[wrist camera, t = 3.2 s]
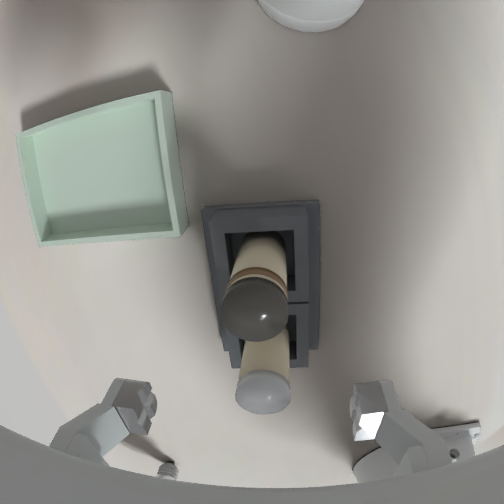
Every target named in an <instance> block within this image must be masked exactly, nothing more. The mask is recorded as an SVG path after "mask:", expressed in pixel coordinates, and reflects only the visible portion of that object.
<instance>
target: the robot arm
mask: <svg viewBox="0 0 504 504" xmlns="http://www.w3.org/2000/svg"><path fill="white" fill-rule="evenodd" d="M151 389H152V387H151V385H150V383H149V382H143V381H136V380H130V379H123V378H116V379H114V381H113V382H112V384H111V386H110V388H109V390H108V392H107V393H106V395H105V397H104V399H103V401H102V403H101V404H99V403H98V404H96V405H95V406H93V407H92V408H90V409H88V410H87V411H85V412H84V413H82V414H80V415H79V416H77V417H75V418H74V419H72V420H71V421H69V422H67V423H66V424H64V425H62V426H61V427H60V428H59V430H58V432H57V433H56V435H55V437H54V438H53V440H52V442H51V444H50V446H46V445H44V444H41V443H39V442H36V441H34V440H31V439H29V438H27V437H24V436H22V435H20V434H18V433H16V432H13V431H11V430H9V429H7V428H5V427H3V426H1V425H0V504H504V445H502V446H500V447H498V448H495V449H492V450H490V451H487V452H484V453H482V454H479V455H476V456H475V452H474V445H475V443H476V442H477V440H478V438H479V436H480V433H481V426H480V423H471V424H465V425H459V426H452V427H444V428H436V429H430V428H429V427H427V426H426V425H425V424H423V423H422V422H421V421H419V420H418V419H417V418H416V417H414V416H413V415H412V414H410V413H409V412H408V411H406V410H402V409H401V406H400V403H399V400H398V397H397V394H396V391H395V388H394V385H393V382H392V381H391V380H384V381H374V382H366V383H357V384H354V385H353V389H352V392H353V396H352V397H351V399H350V418H351V420H352V421H353V426H352V431H353V437H354V441H361V440H370V439H375V441H376V442H377V443H378V444H379V445H380V446H381V448H379V449H377V450H375V451H373V452H371V453H370V454H368V455H366V456H365V457H363V458H362V459H361V460H360V461H359V462H358V463H357V464H356V465H355V466H354V469H353V473H354V475H355V477H356V479H357V481H358V483H354V484H346V485H336V486H324V487H308V488H245V487H229V486H217V485H206V484H198V483H190V482H183V481H176V480H170V479H164V478H159V477H153V476H148V475H143V474H139V473H134V472H130V471H126V470H121V469H118V468H114V467H110V466H109V465H108V463H107V462H106V461H105V460H104V459H103V456H104V455H106V454H107V453H108V452H109V451H110V450H111V449H113V448H114V447H115V446H116V445H117V444H118V443H120V442H121V441H122V440H123V439H124V438H125V437H126V436H128V435H129V434H130V433H135V434H142V435H148V432H149V429H150V427H151V424H152V423H151V421H150V419H151V418H152V417H153V416H155V413H156V410H157V400H156V397H155V395H154V394H153V393H152V392H150V391H151Z"/></svg>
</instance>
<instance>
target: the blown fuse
mask: <svg viewBox="0 0 504 504" xmlns="http://www.w3.org/2000/svg"><path fill="white" fill-rule="evenodd" d="M220 317H221V320H222V323H223V325H224V326H225V328H226V329H227V330H228V331H229V332H230V333H231V334H233V335H234V336H236V337H238V338H240V339H243V340H246V341H251V342H261V341H266V340H269V339H272V338H274V337H276V336H277V335H278V334H280V333H281V332H282V331H283V329H284V328H285V326H286V324H287V321H288V290H287V266H286V245H285V242H284V240H283V238H282V237H281V235H280V234H279V233H277V232H276V231H262V232H248V233H247V234H246V235H245V236H244V238H243V239H242V242H241V245H240V248H239V251H238V255H237V258H236V261H235V264H234V268H233V271H232V274H231V278H230V281H229V282H228V285H227V288H226V291H225V295H224V298H223V301H222V304H221V308H220Z"/></svg>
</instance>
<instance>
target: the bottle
mask: <svg viewBox="0 0 504 504" xmlns="http://www.w3.org/2000/svg"><path fill="white" fill-rule="evenodd" d="M363 1H364V0H258V3H259V4H260V6H261V7H262V8H263V10H264V11H265V12H266V14H267V15H268V16H269V17H270V18H272V19H273V20H275V21H276V22H278V23H279V24H281V25H282V26H284V27H287V28H291V29H293V30H296V31H299V32H315V33H319V32H323V31H328V30H332V29H336V28H337V27H339V26H340V25H342V24H343V23H345V22H346V21H348V20H349V19H350V18H351V17H352V16H353V15H354V14H355V13H356V12H357V10H358V9H359V7H360V6H361V4H362V3H363Z"/></svg>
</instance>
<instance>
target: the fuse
mask: <svg viewBox="0 0 504 504" xmlns="http://www.w3.org/2000/svg"><path fill="white" fill-rule="evenodd" d="M235 399H236V401H237V403H238V404H239V405H240V406H241V407H242V408H243V409H245V410H247V411H249V412H252V413H256V414H273V413H277V412H279V411H281V410H283V409H284V408H286V407H287V406H288V404H289V402H290V364H289V318H288V321H287V324H286V326H285V328H284V329H283V331H282V332H281V333H280V334H278V335H277V336H276V337H274V338H272V339H269V340H266V341H261V342H251V341H246V340H245V344H244V350H243V356H242V362H241V368H240V374H239V380H238V383H237V388H236V394H235Z"/></svg>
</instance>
